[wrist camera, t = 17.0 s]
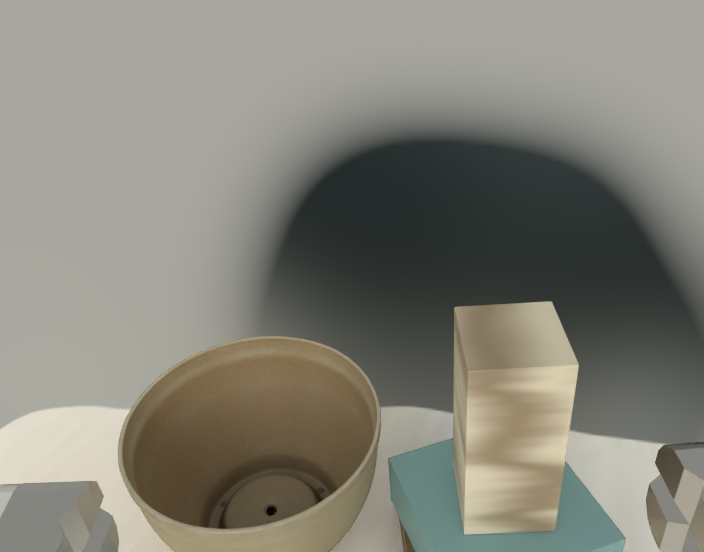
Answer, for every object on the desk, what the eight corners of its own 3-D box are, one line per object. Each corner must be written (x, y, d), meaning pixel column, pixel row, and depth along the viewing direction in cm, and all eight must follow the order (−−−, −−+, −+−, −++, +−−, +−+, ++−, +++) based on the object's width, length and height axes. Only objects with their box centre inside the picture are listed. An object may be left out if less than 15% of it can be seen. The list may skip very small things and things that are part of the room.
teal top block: (524, 455, 46) (528, 414, 44) (615, 581, 38) (625, 538, 36) (390, 499, 44) (388, 458, 41) (457, 642, 36) (458, 601, 33)
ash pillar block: (534, 460, 40) (551, 301, 34) (555, 530, 36) (578, 364, 30) (453, 464, 41) (454, 307, 34) (464, 534, 36) (467, 370, 30)
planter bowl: (153, 669, 39) (101, 560, 33) (165, 462, 52) (130, 358, 46) (414, 608, 41) (410, 494, 35) (362, 423, 54) (352, 318, 48)
